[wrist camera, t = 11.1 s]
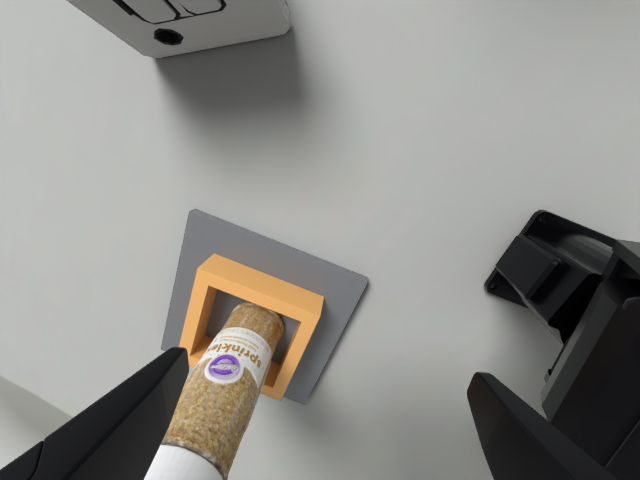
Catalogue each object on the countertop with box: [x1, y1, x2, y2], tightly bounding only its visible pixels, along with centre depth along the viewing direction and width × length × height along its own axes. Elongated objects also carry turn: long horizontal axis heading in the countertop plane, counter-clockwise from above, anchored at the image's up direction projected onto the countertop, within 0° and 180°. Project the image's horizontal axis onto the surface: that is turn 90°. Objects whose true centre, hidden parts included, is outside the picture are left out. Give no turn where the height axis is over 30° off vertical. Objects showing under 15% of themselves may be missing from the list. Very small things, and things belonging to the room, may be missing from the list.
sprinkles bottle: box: [144, 301, 284, 480], centre depth 18 cm, size 5×5×14 cm
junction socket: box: [161, 209, 368, 404], centre depth 24 cm, size 14×14×3 cm
